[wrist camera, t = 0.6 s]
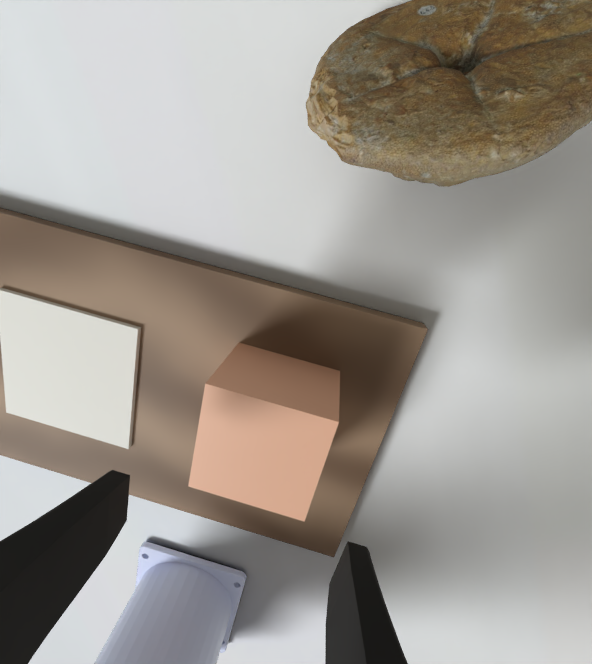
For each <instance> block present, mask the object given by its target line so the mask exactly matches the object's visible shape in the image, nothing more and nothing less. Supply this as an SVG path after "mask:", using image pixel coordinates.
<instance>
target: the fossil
mask: <svg viewBox="0 0 592 664" xmlns="http://www.w3.org/2000/svg"><path fill="white" fill-rule="evenodd" d="M306 109H307V113H308V126H309V127H310V129H311V130H312V131H313V132H315V133H316V134H318V136H319V137H320V138H321V139H323V140H326V141H327V143H328V145H329V146H330V147H331V148H332V149H333V150H335V151H336V152H337V153H338V155H339V157H340V158H341V160H342V161H344V162H346V163H348V164H351V165H356V166H361V167H366V168H372V169H377V170H380V171H386V172H390V173H392V174H393V175H394V176H395V177H398V178H401V179H403V180H407V181H415V180H417V181H419V182H422V183H434V184H436V185H438V186H448V187H449V186H452V185H456V184H460V183H463V182H465V181H468V180H471V179H474V178H479V177H483V176H488V175H493V174H498V173H501V172H504V171H507V170H510V169H513V168H516V167H518V166H521V165H523V164H525V163H528V162H530V161H532V160H534V159H536V158H538V157H540V156H542V155H543V154H545V153H547V152H548V151H550V150H552V149H553V148H555V147H556V146H558V145H559V144H560V143H561V142H563V141H564V140H565V139H567V138H568V137H569V136H570V135H572V134H573V133H574V132H575V131H576V130H578V129H580V128H582V127H584V126H586V125H587V124H588V123H589V122H590V121H591V120H592V0H412V1H409V2H407V3H404V4H401V5H398V6H395V7H391V8H388V9H386V10H384V11H382V12H379V13H377V14H375V15H373V16H371V17H369V18H366V19H363V20H362V21H360V22H358V23H357V24H355V25H354V26H352V27H350V28H348V29H347V30H346V31H345V32H344V33H342V34H341V35H340V36H339V37H338V38H337V39H336V40H335V41H334V42H333V43H332V44H331V45H330V46H329V48H328V49H327V51H326V52H325V54H324V55H323V56H322V57H321V59H320V61H319V63H318V65H317V68H316V72H315V75H314V77H313V79H312V81H311V88H310V93H309V98H308V100H307V102H306Z"/></svg>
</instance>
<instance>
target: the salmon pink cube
mask: <svg viewBox="0 0 592 664" xmlns="http://www.w3.org/2000/svg"><path fill="white" fill-rule="evenodd" d="M339 399H340V371H338V370H335V369H331V368H328V367H324V366H321V365H317V364H313V363H310V362H306V361H303V360H299V359H296V358H292V357H289V356H285V355H282V354H278V353H274V352H271V351H267V350H264V349H260V348H257V347H253V346H250V345H246V344H243V343H238V344H237V345H236V347H235V348H234V349H233V350H232V352H231V353H230V354H229V355H228V356H227V358H226V359H225V360H224V361H223V363H222V364H221V365H220V366H219V367H218V369H217V370H216V371H215V372H214V374H213V375H212V376H211V377H210V378H209V380H208V381H207V382H206V383H205V388H204V394H203V400H202V406H201V412H200V418H199V424H198V430H197V436H196V442H195V448H194V454H193V460H192V466H191V472H190V478H189V484H188V486H189V487H192V488H195V489H198V490H202V491H205V492H208V493H212V494H215V495H218V496H221V497H225V498H228V499H231V500H235V501H238V502H241V503H245V504H248V505H251V506H254V507H258V508H261V509H264V510H268V511H271V512H274V513H278V514H281V515H284V516H287V517H291V518H294V519H297V520H301V521H304V522H305V519H306V516H307V513H308V510H309V507H310V504H311V501H312V498H313V496H314V493H315V490H316V487H317V484H318V481H319V478H320V475H321V473H322V470H323V467H324V464H325V461H326V458H327V455H328V452H329V450H330V447H331V444H332V441H333V438H334V435H335V432H336V429H337V427H338V424H339Z"/></svg>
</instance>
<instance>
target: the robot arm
mask: <svg viewBox="0 0 592 664" xmlns="http://www.w3.org/2000/svg"><path fill="white" fill-rule="evenodd" d="M129 483H130V475H128V474H125V473H122V472H118V471H115V470H111V471H109V472H107V473H106V474H105V475H103V476H102V477H100V478H99V479H97V480H96V481H94V482H93V483H91V484H90V485H88V486H87V487H85V488H84V489H83V490H81V491H80V492H78V493H77V494H75V495H74V496H72V497H71V498H69V499H68V500H66V501H65V502H63V503H61V504H60V505H58V506H57V507H55V508H54V509H52V510H51V511H49V512H47V513H46V514H44V515H43V516H41V517H40V518H38V519H37V520H35V521H33V522H32V523H30V524H28V525H27V526H25V527H23V528H22V529H20V530H18V531H17V532H15V533H13V534H12V535H10V536H8V537H7V538H5V539H3V540H2V541H0V664H28V663H29V661H30V659H31V658H32V656H33V655H34V653H35V652H36V651H37V649H38V648H39V646H40V645H41V643H42V642H43V640H44V639H45V638H46V636H47V635H48V633H49V632H50V631H51V629H52V628H53V627H54V625H55V624H56V623H57V621H58V620H59V618H60V617H61V616H62V614H63V613H64V612H65V610H66V609H67V608H68V606H69V605H70V603H71V602H72V601H73V599H74V598H75V597H76V595H77V594H78V593H79V591H80V590H81V589H82V587H83V586H84V584H85V583H86V582H87V580H88V579H89V578H90V576H91V575H92V574H93V572H94V571H95V569H96V568H97V567H98V565H99V564H100V563H101V561H102V560H103V558H104V557H105V556H106V554H107V552H108V551H109V549H110V547H111V546H112V544H113V543H114V541H115V539H116V538H117V536H118V534H119V532H120V531H121V529H122V527H123V526H124V524H125V522H126V520H127V508H128V496H129ZM245 581H246V575H245V573H244V572H242V571H240V570H236V569H233V568H230V567H227V566H224V565H220V564H217V563H214V562H211V561H208V560H204V559H201V558H198V557H195V556H192V555H188V554H185V553H182V552H179V551H176V550H172V549H169V548H166V547H163V546H160V545H156V544H153V543H150V542H144V543H143V544H142V545H141V547H140V550H139V559H138V569H137V578H136V587H135V591H134V593H133V594H132V596H131V598H130V600H129V602H128V603H127V605H126V607H125V609H124V611H123V612H122V614H121V616H120V618H119V620H118V621H117V623H116V625H115V627H114V629H113V630H112V632H111V634H110V636H109V638H108V639H107V641H106V643H105V645H104V647H103V648H102V650H101V652H100V654H99V656H98V657H97V659H96V661H95V663H94V664H216V663H217V660H218V656H219V653H222V652H225V650H226V647H227V644H228V640H229V637H230V633H231V630H232V626H233V623H234V619H235V616H236V612H237V609H238V605H239V602H240V598H241V595H242V591H243V588H244V584H245ZM326 664H408V663H407V661H406V658H405V656H404V653H403V651H402V648H401V646H400V643H399V640H398V638H397V635H396V632H395V629H394V627H393V624H392V621H391V619H390V616H389V613H388V610H387V607H386V604H385V601H384V598H383V595H382V592H381V589H380V586H379V583H378V580H377V577H376V574H375V570H374V567H373V564H372V560H371V557H370V553H369V550H368V549H367V547H365V546H361V545H358V544H355V543H352V542H347V544H346V546H345V549H344V551H343V553H342V556H341V558H340V560H339V563H338V565H337V568H336V570H335V572H334V575H333V577H332V579H331V582H330V585H329V595H328V605H327V617H326Z"/></svg>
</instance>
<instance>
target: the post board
mask: <svg viewBox="0 0 592 664" xmlns="http://www.w3.org/2000/svg"><path fill="white" fill-rule="evenodd" d="M0 288H4V289H8V290H11V291H15V292H18V293H22V294H25V295H29V296H32V297H36V298H39V299H43V300H46V301H50V302H53V303H57V304H61V305H64V306H68V307H71V308H75V309H78V310H82V311H85V312H89V313H92V314H96V315H99V316H103V317H106V318H110V319H113V320H117V321H120V322H124V323H127V324H131V325H135V326H138V327H141V335H140V347H139V359H138V372H137V384H136V396H135V408H134V420H133V433H132V445H131V447H130V448H129V449H126V448H123V447H120V446H116V445H113V444H110V443H106V442H103V441H100V440H96V439H93V438H90V437H86V436H83V435H80V434H76V433H73V432H70V431H66V430H63V429H60V428H56V427H53V426H50V425H46V424H43V423H40V422H36V421H33V420H30V419H26V418H23V417H20V416H16V415H13V414H10V413H6V403H5V391H4V379H3V366H2V354H1V342H0V455H2V456H5V457H9V458H12V459H15V460H18V461H22V462H25V463H28V464H32V465H35V466H38V467H41V468H45V469H48V470H51V471H54V472H58V473H61V474H64V475H67V476H71V477H74V478H77V479H80V480H84V481H87V482H90V483H93V482H94V481H96V480H97V479H99V478H100V477H102V476H103V475H105V474H106V473H107V472H109V471H111V470H115V471H118V472H122V473H125V474H128V475H130V483H129V495H133V496H136V497H139V498H142V499H146V500H149V501H152V502H155V503H159V504H162V505H165V506H168V507H172V508H175V509H178V510H181V511H185V512H188V513H191V514H195V515H198V516H201V517H204V518H208V519H211V520H214V521H217V522H221V523H224V524H227V525H230V526H234V527H237V528H240V529H243V530H247V531H250V532H253V533H256V534H260V535H263V536H266V537H270V538H273V539H276V540H279V541H283V542H286V543H289V544H292V545H296V546H299V547H302V548H305V549H309V550H312V551H315V552H318V553H322V554H325V555H328V556H331V557H334V556H335V553H336V551H337V548H338V546H339V544H340V541H341V539H342V536H343V534H344V532H345V529H346V527H347V524H348V522H349V519H350V517H351V515H352V512H353V510H354V507H355V505H356V502H357V500H358V498H359V495H360V493H361V490H362V488H363V485H364V483H365V481H366V478H367V476H368V473H369V471H370V468H371V466H372V464H373V461H374V459H375V456H376V454H377V452H378V449H379V447H380V444H381V442H382V439H383V437H384V435H385V432H386V430H387V427H388V425H389V422H390V420H391V418H392V415H393V413H394V410H395V408H396V405H397V403H398V401H399V398H400V396H401V393H402V391H403V389H404V386H405V384H406V381H407V379H408V376H409V374H410V372H411V369H412V367H413V364H414V362H415V359H416V357H417V355H418V352H419V350H420V347H421V345H422V342H423V340H424V338H425V335H426V333H427V330H428V329H427V328H426V326H425V325H424V324H423V323H421V322H417V321H414V320H410V319H406V318H403V317H399V316H395V315H392V314H388V313H384V312H381V311H377V310H373V309H370V308H366V307H362V306H359V305H355V304H351V303H348V302H344V301H340V300H337V299H333V298H329V297H326V296H322V295H318V294H315V293H311V292H307V291H304V290H300V289H296V288H293V287H289V286H285V285H282V284H278V283H274V282H271V281H267V280H263V279H260V278H256V277H252V276H249V275H245V274H241V273H238V272H234V271H230V270H227V269H223V268H219V267H216V266H212V265H208V264H205V263H201V262H197V261H194V260H190V259H186V258H183V257H179V256H175V255H172V254H168V253H164V252H161V251H157V250H153V249H150V248H146V247H142V246H139V245H135V244H131V243H128V242H124V241H120V240H117V239H113V238H109V237H106V236H102V235H98V234H95V233H91V232H87V231H84V230H80V229H76V228H73V227H69V226H65V225H62V224H58V223H54V222H51V221H47V220H43V219H40V218H36V217H32V216H29V215H25V214H21V213H18V212H14V211H10V210H7V209H3V208H0ZM238 343H243V344H246V345H250V346H253V347H257V348H260V349H264V350H267V351H271V352H274V353H278V354H282V355H285V356H289V357H292V358H296V359H299V360H303V361H306V362H310V363H313V364H317V365H321V366H324V367H328V368H331V369H335V370H338V371H340V399H339V424H338V427H337V429H336V432H335V435H334V438H333V441H332V444H331V447H330V450H329V452H328V455H327V458H326V461H325V464H324V467H323V470H322V473H321V475H320V478H319V481H318V484H317V487H316V490H315V493H314V496H313V498H312V501H311V504H310V507H309V510H308V513H307V516H306V519H305V522H304V521H301V520H297V519H294V518H291V517H287V516H284V515H281V514H278V513H274V512H271V511H268V510H264V509H261V508H258V507H254V506H251V505H248V504H245V503H241V502H238V501H235V500H231V499H228V498H225V497H221V496H218V495H215V494H212V493H208V492H205V491H202V490H198V489H195V488H192V487H189V486H188V484H189V478H190V472H191V466H192V460H193V454H194V448H195V442H196V436H197V430H198V424H199V418H200V412H201V406H202V400H203V394H204V388H205V383H206V382H207V381H208V380H209V378H210V377H211V376H212V375H213V374H214V372H215V371H216V370H217V369H218V367H219V366H220V365H221V364H222V363H223V361H224V360H225V359H226V358H227V356H228V355H229V354H230V353H231V352H232V350H233V349H234V348H235V347H236V345H237V344H238Z"/></svg>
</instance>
